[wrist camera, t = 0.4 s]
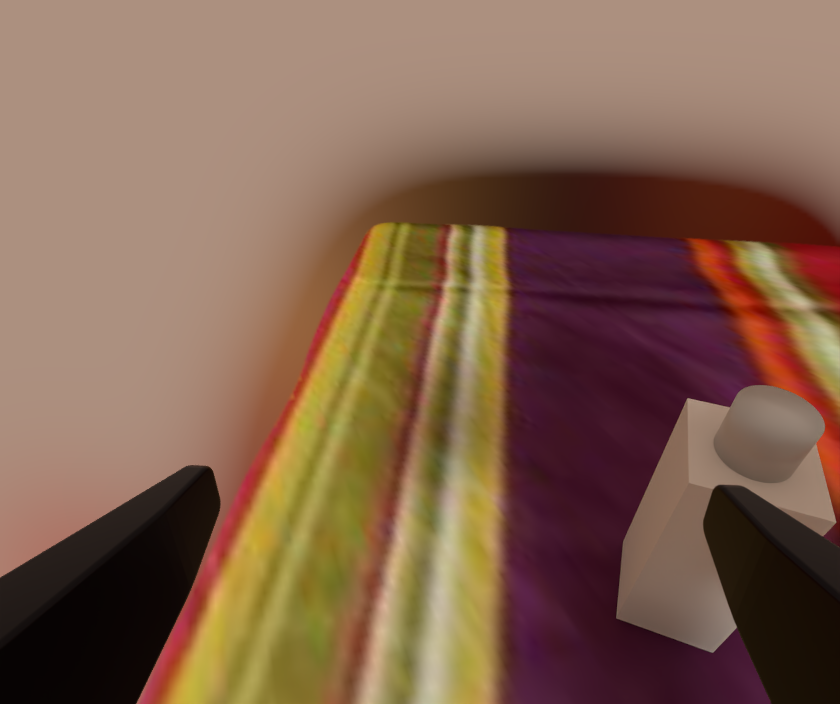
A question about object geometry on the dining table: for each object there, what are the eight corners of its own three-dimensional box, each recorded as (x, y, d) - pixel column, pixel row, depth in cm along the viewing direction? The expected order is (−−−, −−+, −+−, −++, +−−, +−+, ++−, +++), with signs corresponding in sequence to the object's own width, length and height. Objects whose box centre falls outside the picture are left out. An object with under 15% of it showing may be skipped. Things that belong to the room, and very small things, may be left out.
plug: (713, 653, 22) (874, 482, 13) (616, 618, 23) (710, 442, 15) (709, 568, 24) (840, 385, 16) (623, 541, 26) (705, 358, 17)
